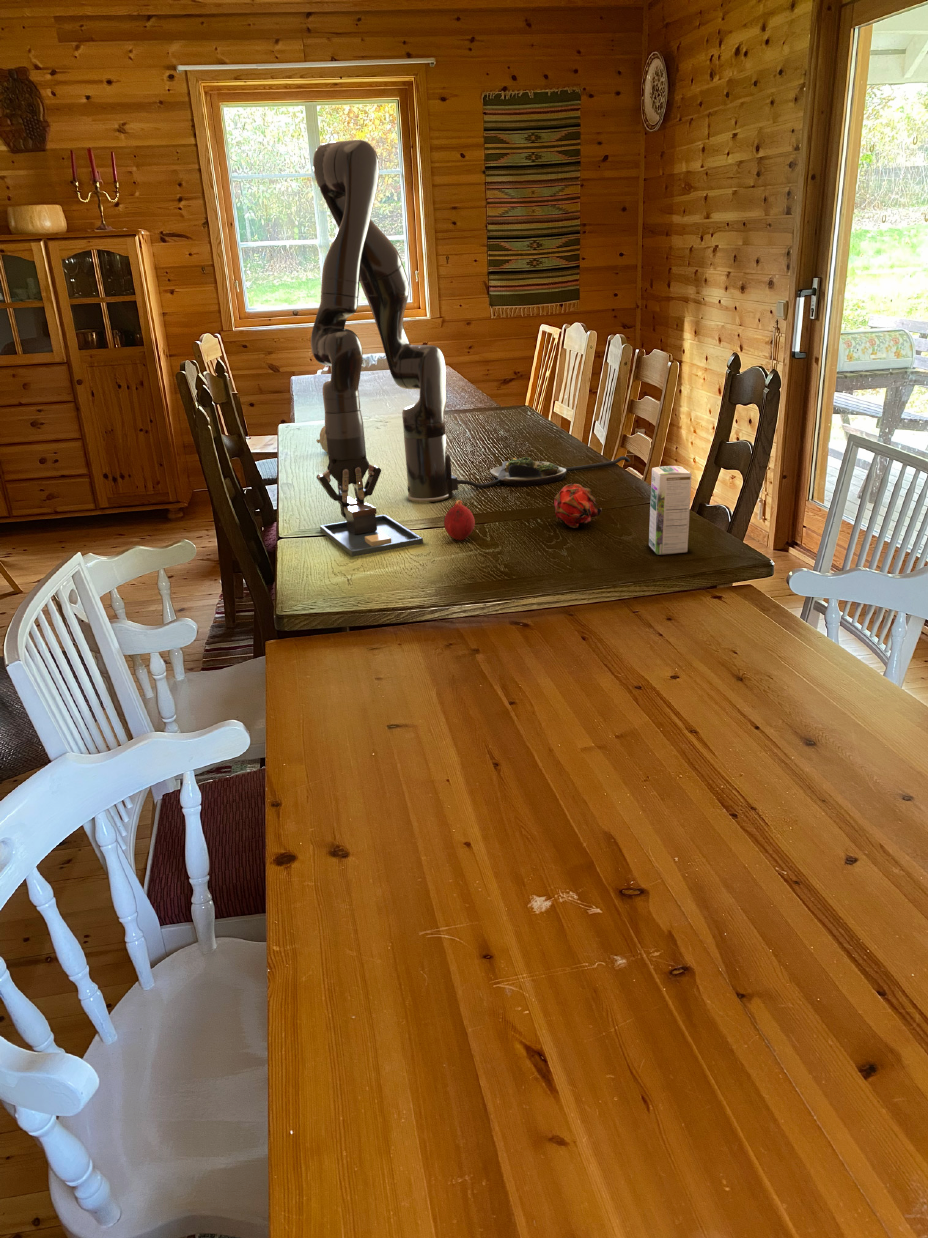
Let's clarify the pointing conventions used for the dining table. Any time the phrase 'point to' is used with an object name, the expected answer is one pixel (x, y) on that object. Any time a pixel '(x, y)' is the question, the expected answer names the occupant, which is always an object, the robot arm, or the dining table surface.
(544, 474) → the salad plate
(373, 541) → the tan flat square block
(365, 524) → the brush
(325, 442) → the garlic bulb
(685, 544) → the syrup box
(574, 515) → the dragon fruit
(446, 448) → the robot arm
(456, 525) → the onion
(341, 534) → the tray
